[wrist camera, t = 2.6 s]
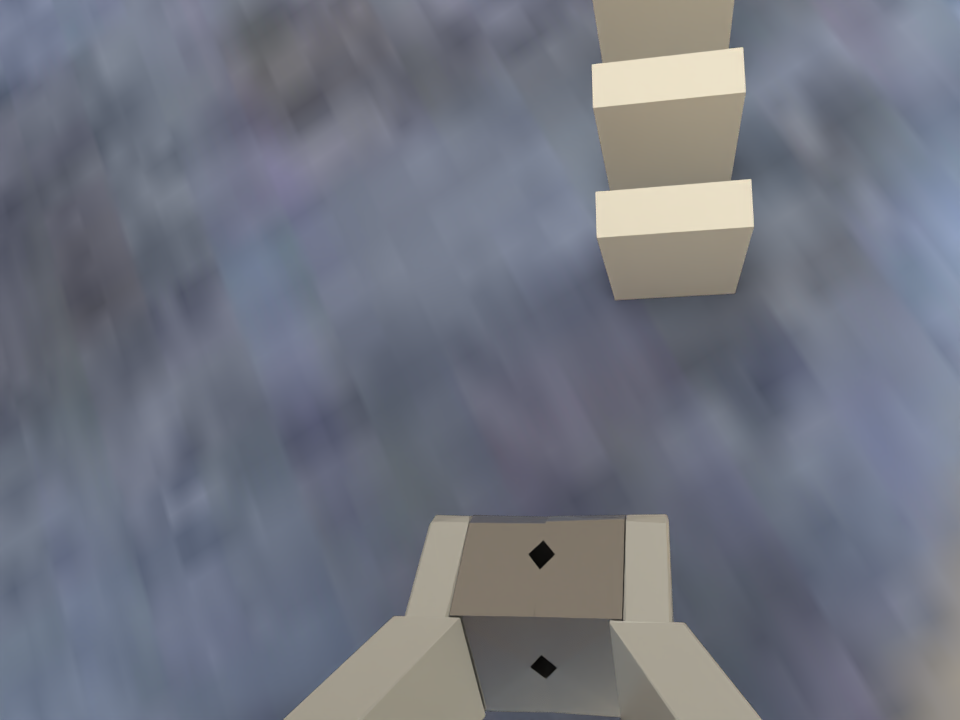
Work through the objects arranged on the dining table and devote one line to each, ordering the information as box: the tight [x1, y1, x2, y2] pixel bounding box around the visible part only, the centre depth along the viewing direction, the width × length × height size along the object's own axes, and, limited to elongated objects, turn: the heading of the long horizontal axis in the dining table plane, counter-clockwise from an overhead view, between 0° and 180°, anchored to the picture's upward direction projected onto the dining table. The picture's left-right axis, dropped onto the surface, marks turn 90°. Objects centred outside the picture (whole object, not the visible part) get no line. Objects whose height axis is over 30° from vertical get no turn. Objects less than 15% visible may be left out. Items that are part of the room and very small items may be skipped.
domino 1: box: [593, 0, 734, 63], centre depth 34 cm, size 2×5×9 cm, turn 91°
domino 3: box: [596, 179, 754, 300], centre depth 33 cm, size 2×5×9 cm, turn 91°
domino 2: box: [592, 47, 746, 191], centre depth 33 cm, size 2×5×9 cm, turn 90°
